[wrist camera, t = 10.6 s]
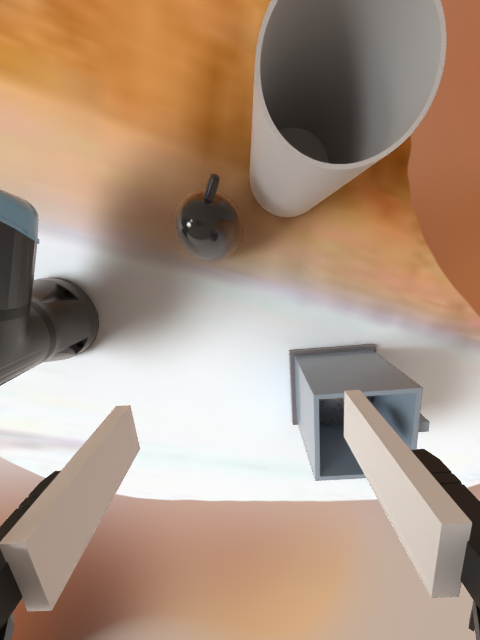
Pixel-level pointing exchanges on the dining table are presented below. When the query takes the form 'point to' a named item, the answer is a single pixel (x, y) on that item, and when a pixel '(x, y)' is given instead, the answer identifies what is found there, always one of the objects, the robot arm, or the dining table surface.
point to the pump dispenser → (208, 223)
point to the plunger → (333, 410)
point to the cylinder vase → (337, 92)
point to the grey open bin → (330, 382)
